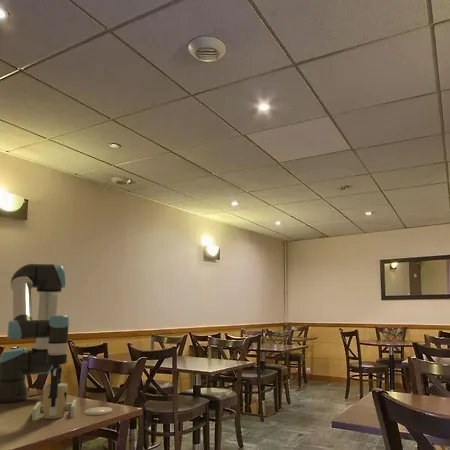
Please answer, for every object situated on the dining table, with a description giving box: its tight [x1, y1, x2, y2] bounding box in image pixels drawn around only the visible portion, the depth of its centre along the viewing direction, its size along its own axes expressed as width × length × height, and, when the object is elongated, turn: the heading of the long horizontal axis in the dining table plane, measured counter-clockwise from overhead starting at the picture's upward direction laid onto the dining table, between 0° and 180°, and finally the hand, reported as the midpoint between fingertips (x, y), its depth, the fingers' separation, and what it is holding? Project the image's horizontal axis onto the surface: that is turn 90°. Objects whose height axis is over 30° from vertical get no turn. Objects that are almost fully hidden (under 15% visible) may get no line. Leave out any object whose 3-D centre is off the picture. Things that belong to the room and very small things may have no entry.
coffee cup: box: [42, 382, 69, 420], centre depth 174 cm, size 9×9×12 cm
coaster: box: [84, 406, 113, 416], centre depth 180 cm, size 11×11×1 cm
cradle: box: [31, 399, 78, 421], centre depth 177 cm, size 15×15×4 cm
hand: (54, 412), depth 174 cm, fingers closed on coffee cup, 9 cm apart
